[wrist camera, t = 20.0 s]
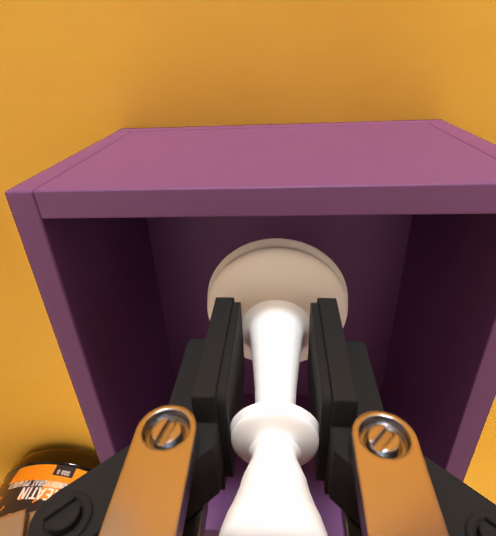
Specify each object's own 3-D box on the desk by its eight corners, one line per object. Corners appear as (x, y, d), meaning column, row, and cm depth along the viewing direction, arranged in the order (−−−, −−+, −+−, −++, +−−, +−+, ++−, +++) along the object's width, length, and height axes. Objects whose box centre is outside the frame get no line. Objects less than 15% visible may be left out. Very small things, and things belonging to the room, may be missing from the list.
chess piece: (337, 358, 15) (414, 780, 6) (208, 349, 15) (116, 745, 7) (358, 241, 13) (528, 666, 4) (206, 233, 13) (54, 617, 4)
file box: (120, 128, 18) (2, 191, 10) (441, 119, 17) (576, 181, 9) (169, 391, 26) (125, 534, 18) (389, 396, 25) (437, 551, 17)
